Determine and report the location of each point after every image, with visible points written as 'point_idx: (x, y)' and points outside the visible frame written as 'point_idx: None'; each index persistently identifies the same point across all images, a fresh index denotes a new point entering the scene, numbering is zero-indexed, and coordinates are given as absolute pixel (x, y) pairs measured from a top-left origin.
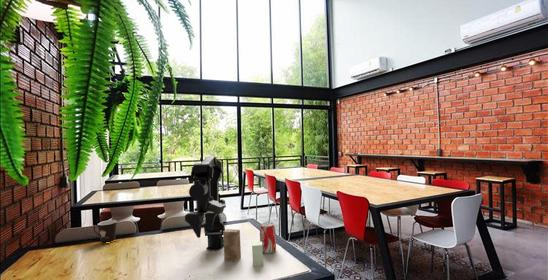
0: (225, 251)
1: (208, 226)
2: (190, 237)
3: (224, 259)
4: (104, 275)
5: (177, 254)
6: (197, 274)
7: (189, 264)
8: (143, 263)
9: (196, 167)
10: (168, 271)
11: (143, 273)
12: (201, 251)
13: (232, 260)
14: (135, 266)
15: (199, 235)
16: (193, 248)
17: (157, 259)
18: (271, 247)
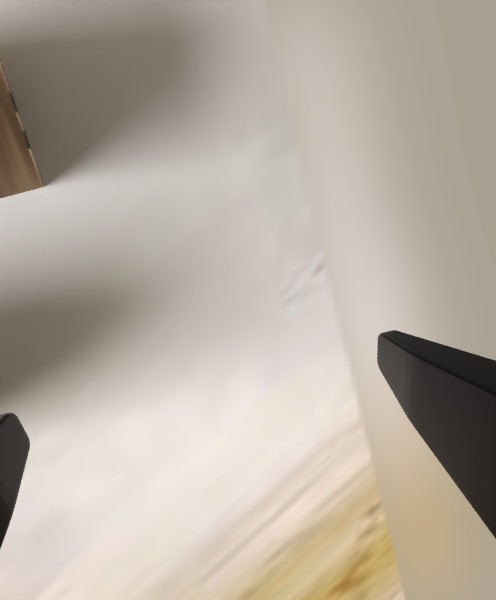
0: (3, 178)
1: (6, 509)
2: None
3: (40, 186)
4: (393, 552)
5: (127, 505)
6: (302, 228)
7: (206, 364)
8: (273, 538)
9: None
10: (312, 395)
11: (354, 466)
12: None
13: (12, 104)
14: (307, 537)
15: (427, 342)
16: None
17: (218, 528)
18: None
